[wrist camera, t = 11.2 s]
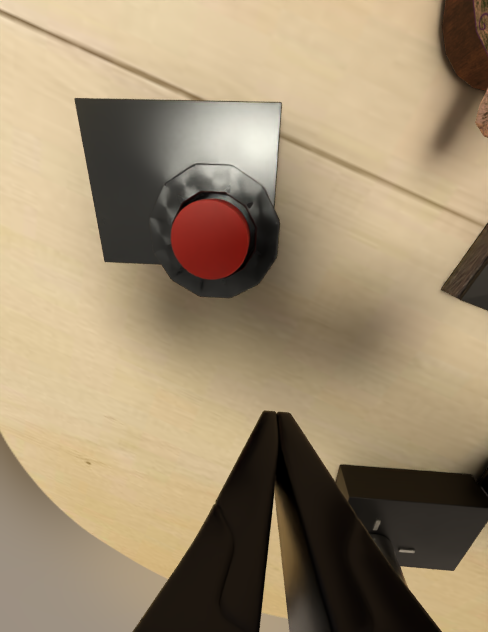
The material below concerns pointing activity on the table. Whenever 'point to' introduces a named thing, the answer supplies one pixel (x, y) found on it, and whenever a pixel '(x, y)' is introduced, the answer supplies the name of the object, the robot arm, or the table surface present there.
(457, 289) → the picture frame
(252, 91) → the table surface
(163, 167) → the control block
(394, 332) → the table surface
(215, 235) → the button
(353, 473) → the panel
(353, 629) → the robot arm
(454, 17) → the mug
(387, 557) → the hob knob
